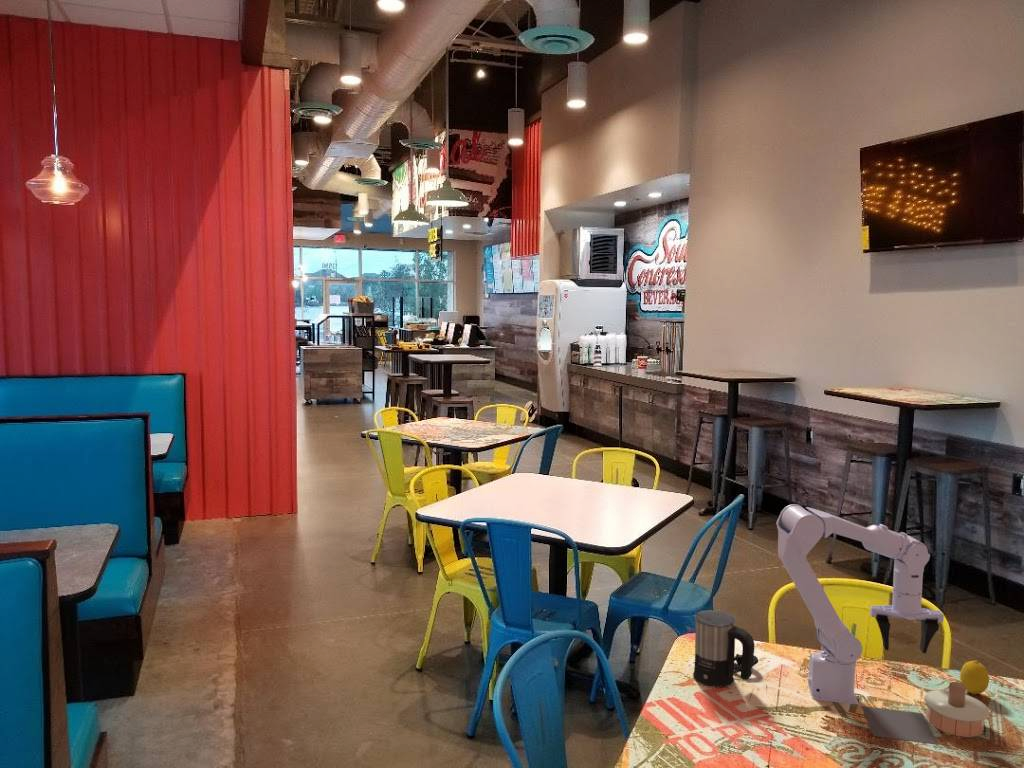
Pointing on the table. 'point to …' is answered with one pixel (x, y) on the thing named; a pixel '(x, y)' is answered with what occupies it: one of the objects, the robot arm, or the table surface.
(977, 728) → the bowl
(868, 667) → the table surface
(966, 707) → the lid
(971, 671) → the lemon
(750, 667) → the milk frother
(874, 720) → the mat
